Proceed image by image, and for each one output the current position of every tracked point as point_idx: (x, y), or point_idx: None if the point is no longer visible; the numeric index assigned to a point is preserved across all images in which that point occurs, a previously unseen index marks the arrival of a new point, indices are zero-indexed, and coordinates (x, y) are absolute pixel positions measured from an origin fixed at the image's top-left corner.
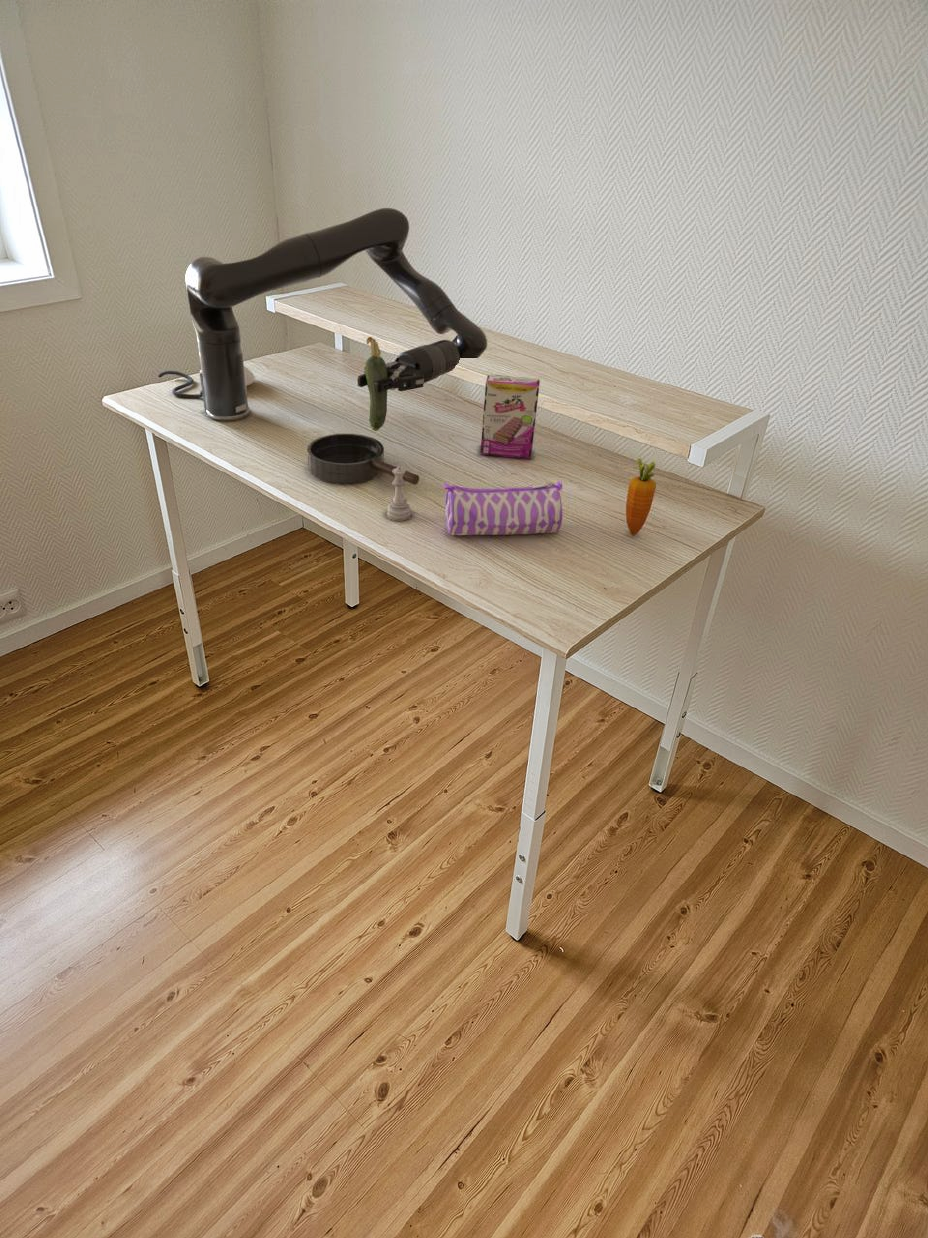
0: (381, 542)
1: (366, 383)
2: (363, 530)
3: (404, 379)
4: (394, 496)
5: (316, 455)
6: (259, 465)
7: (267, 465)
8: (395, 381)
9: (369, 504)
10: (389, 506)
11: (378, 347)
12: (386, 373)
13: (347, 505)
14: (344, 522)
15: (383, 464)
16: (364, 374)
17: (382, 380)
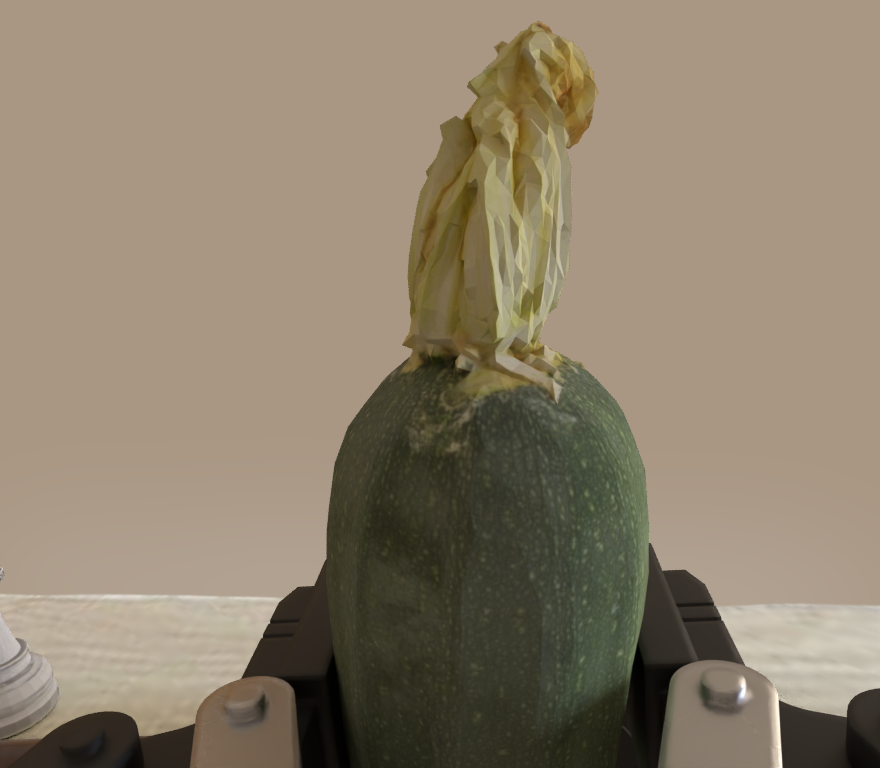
0: (36, 604)
1: (628, 700)
2: (116, 611)
3: (17, 762)
4: (7, 627)
5: (627, 746)
6: (784, 651)
7: (765, 666)
8: (183, 734)
9: (161, 703)
10: (39, 656)
11: (443, 218)
12: (336, 626)
13: (242, 660)
14: (197, 606)
15: (140, 738)
16: (648, 586)
17: (324, 601)
